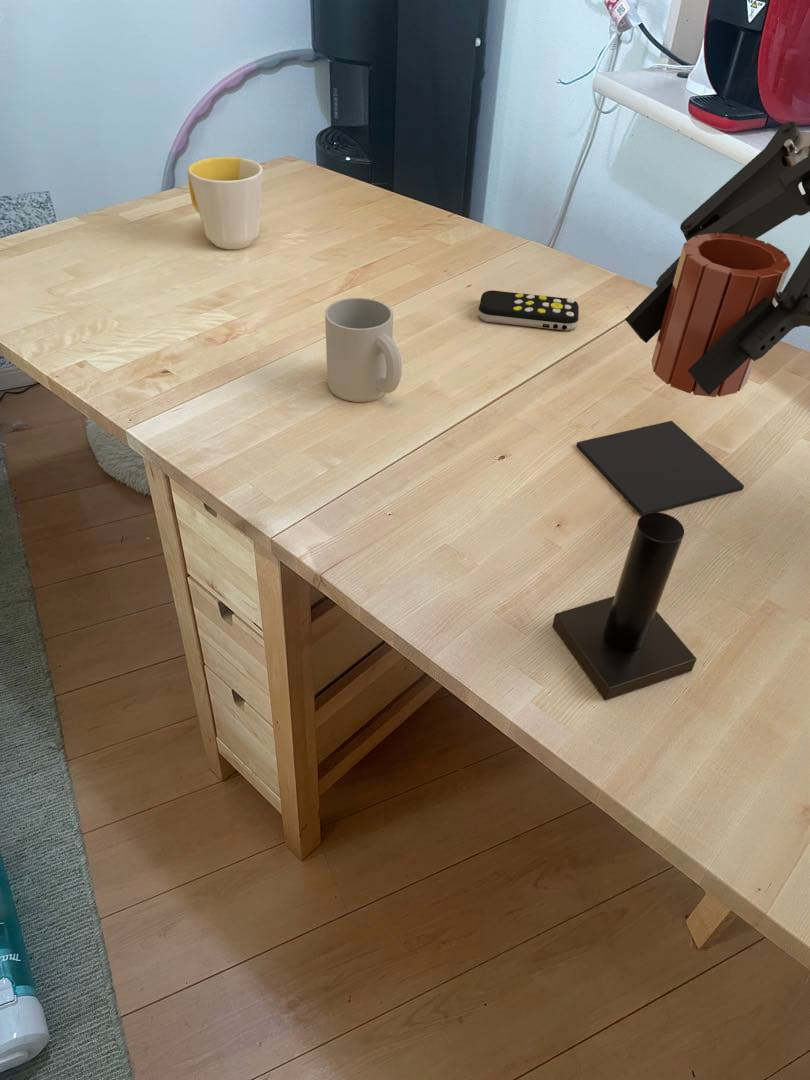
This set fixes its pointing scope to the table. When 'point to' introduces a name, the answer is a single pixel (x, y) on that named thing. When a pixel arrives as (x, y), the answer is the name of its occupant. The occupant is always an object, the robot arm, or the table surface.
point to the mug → (227, 199)
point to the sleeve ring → (714, 303)
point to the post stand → (631, 618)
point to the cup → (361, 350)
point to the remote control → (529, 310)
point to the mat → (658, 467)
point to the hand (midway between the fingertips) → (665, 355)
